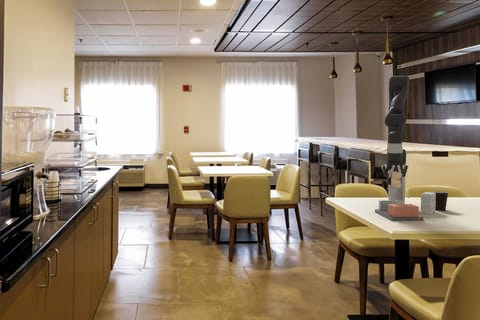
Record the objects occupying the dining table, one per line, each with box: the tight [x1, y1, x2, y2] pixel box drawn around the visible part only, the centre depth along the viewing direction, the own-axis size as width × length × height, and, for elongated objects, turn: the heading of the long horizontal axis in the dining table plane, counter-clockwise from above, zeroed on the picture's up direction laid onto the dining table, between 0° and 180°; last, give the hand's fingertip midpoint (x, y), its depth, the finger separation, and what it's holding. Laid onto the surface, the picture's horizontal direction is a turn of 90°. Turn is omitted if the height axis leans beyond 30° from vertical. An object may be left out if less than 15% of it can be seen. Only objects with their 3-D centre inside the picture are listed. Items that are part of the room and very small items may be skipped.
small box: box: [420, 191, 436, 215], centre depth 235 cm, size 8×6×10 cm
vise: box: [374, 199, 425, 222], centre depth 225 cm, size 24×16×6 cm
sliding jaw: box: [388, 203, 420, 217], centre depth 219 cm, size 9×12×5 cm
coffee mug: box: [431, 190, 449, 212], centre depth 243 cm, size 12×9×10 cm
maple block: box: [387, 172, 401, 188], centre depth 230 cm, size 5×4×8 cm
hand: (394, 184), depth 230 cm, fingers closed on maple block, 4 cm apart
